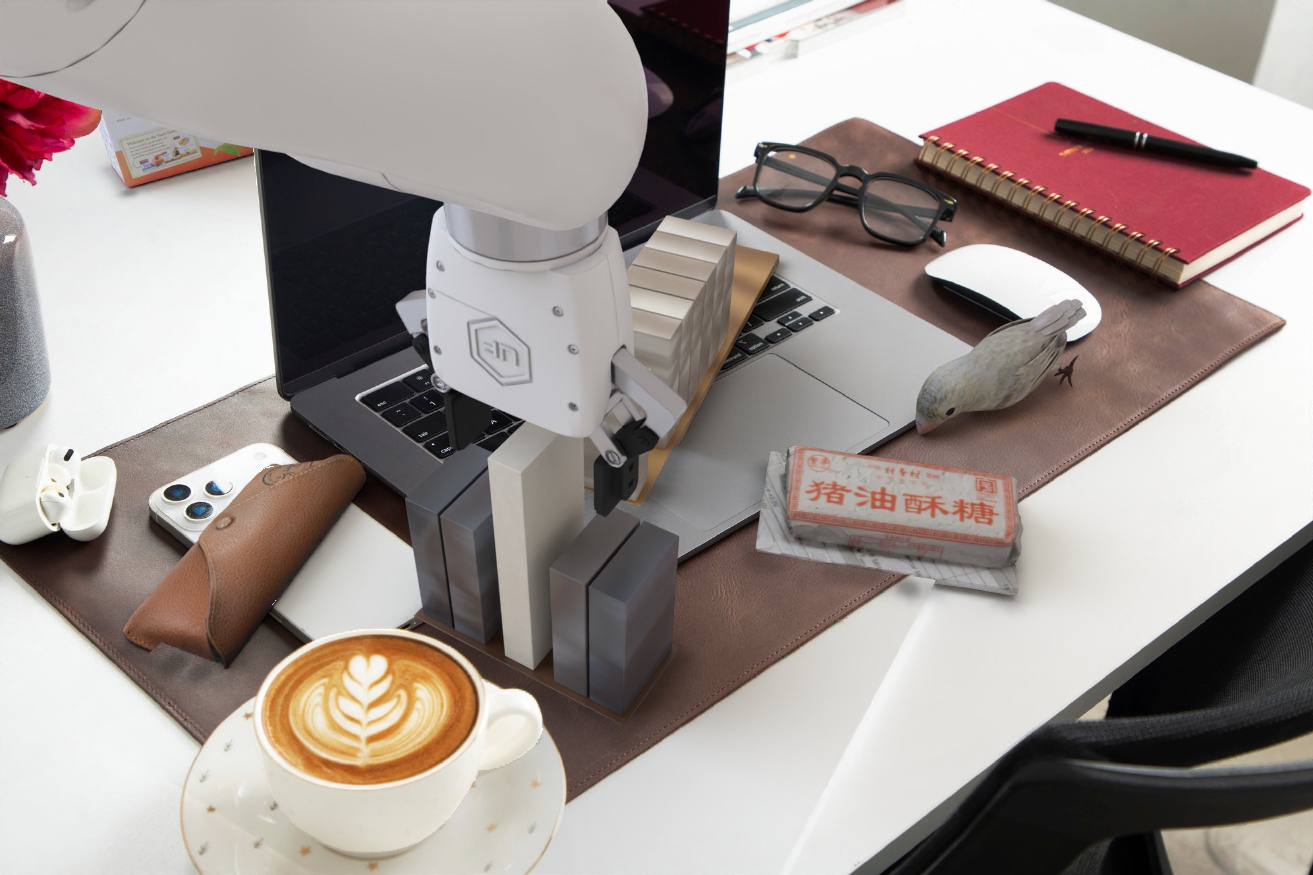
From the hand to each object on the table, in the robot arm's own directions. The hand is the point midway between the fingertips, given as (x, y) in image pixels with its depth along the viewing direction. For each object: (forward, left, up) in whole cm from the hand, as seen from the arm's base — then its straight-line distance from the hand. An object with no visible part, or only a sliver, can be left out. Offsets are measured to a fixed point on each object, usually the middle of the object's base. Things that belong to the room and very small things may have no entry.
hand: (541, 466), depth 64 cm
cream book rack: (+30, +7, -15) cm, 34 cm away
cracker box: (+32, +67, -15) cm, 76 cm away
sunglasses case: (-5, +21, -15) cm, 26 cm away
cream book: (0, 0, -14) cm, 14 cm away
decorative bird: (+39, -17, -15) cm, 45 cm away
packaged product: (+21, -15, -15) cm, 30 cm away
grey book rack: (0, 0, -15) cm, 15 cm away
